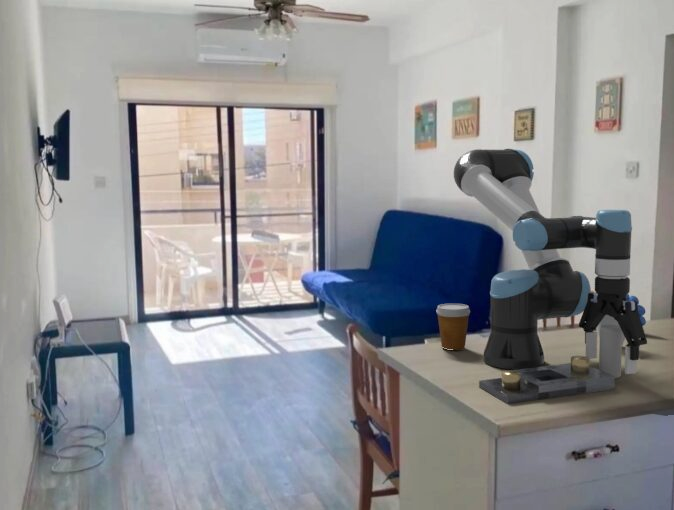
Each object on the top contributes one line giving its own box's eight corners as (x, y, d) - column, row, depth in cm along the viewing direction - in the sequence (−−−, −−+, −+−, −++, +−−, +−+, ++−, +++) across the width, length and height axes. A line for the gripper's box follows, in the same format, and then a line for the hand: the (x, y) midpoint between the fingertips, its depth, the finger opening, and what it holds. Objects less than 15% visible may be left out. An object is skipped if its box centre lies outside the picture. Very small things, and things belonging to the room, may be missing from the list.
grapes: (601, 329, 199) (602, 291, 198) (614, 326, 203) (615, 289, 202) (636, 336, 190) (637, 296, 188) (649, 333, 193) (651, 294, 192)
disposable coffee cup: (476, 350, 178) (476, 308, 177) (445, 354, 176) (445, 310, 174) (460, 342, 187) (460, 302, 186) (430, 345, 185) (430, 304, 183)
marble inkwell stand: (479, 387, 147) (479, 361, 146) (579, 374, 155) (579, 349, 154) (507, 403, 136) (508, 376, 135) (614, 389, 144) (615, 362, 143)
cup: (629, 345, 180) (630, 310, 179) (624, 351, 174) (625, 315, 173) (598, 342, 185) (599, 307, 184) (593, 348, 178) (593, 312, 177)
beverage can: (624, 379, 150) (625, 328, 149) (603, 379, 150) (604, 329, 149) (615, 373, 155) (617, 324, 154) (595, 373, 155) (596, 324, 154)
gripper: (666, 282, 139) (663, 378, 142) (590, 268, 163) (588, 351, 165) (638, 285, 137) (635, 382, 140) (564, 270, 161) (563, 354, 163)
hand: (610, 365), depth 152 cm, fingers open, 13 cm apart
